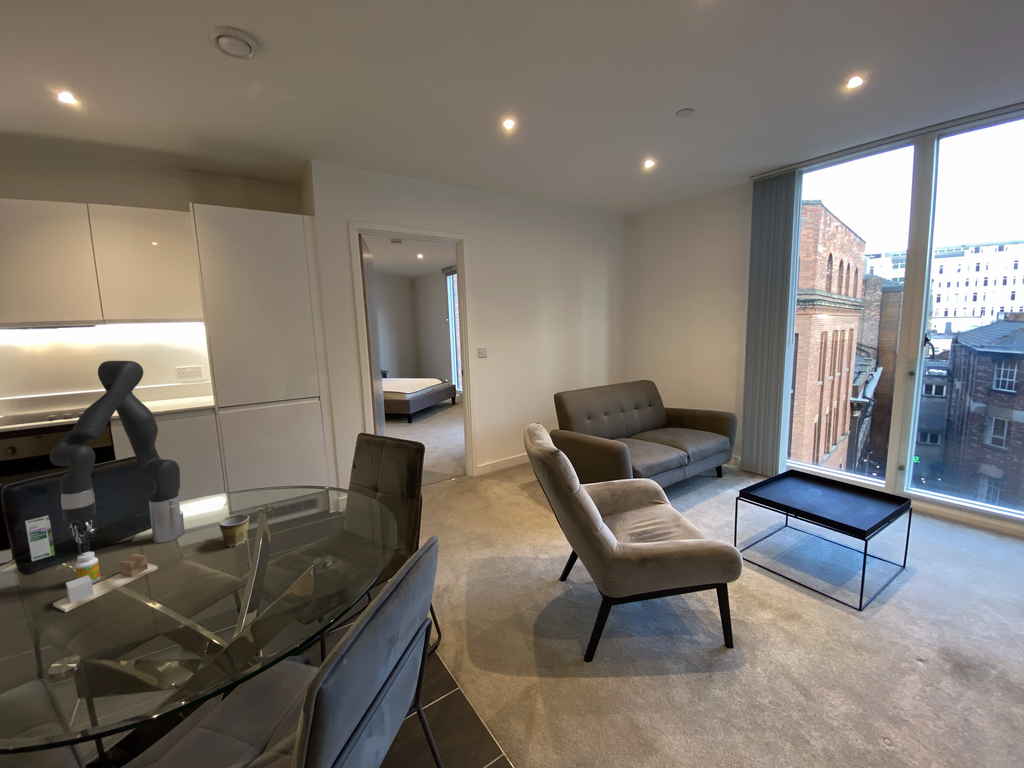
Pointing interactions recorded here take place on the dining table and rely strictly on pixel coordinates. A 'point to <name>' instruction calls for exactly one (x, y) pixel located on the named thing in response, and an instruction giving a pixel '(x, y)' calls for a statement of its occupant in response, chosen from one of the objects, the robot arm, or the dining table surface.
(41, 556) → the syrup box
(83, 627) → the dining table surface
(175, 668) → the dining table surface
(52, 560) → the dining table surface
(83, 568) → the supplement bottle
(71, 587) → the grey block
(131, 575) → the walnut block
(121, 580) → the birch strip
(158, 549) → the dining table surface
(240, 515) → the ceramic cup
